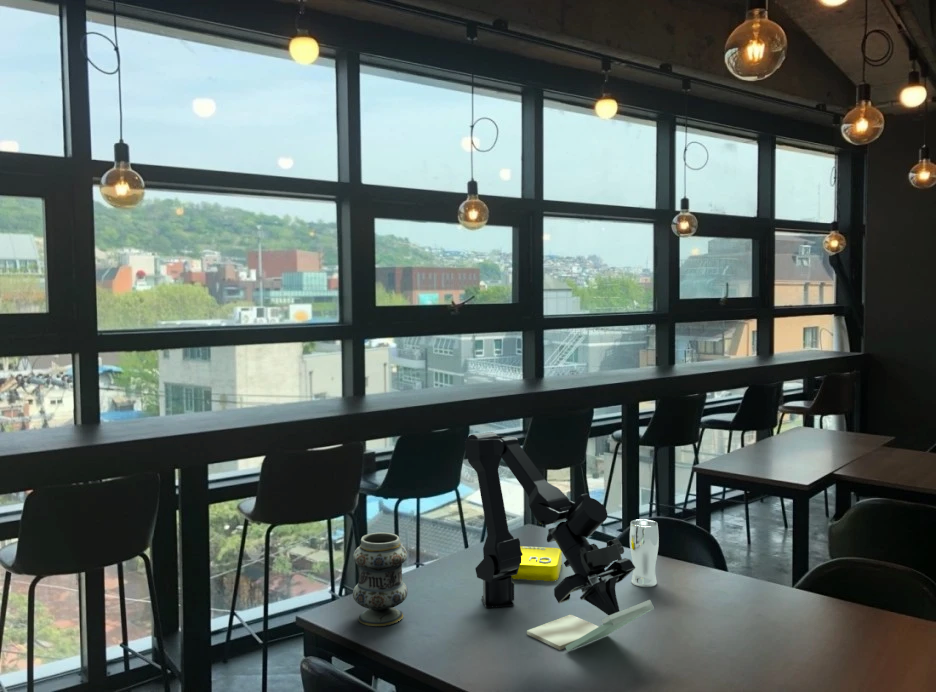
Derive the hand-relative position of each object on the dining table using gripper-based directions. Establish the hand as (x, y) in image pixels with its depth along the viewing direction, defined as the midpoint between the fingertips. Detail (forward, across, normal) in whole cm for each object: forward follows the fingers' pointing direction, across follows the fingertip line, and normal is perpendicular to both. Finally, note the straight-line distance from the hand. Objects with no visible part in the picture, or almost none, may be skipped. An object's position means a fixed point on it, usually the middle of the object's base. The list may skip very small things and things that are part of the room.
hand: (618, 618), depth 144 cm
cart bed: (-5, 0, +15) cm, 16 cm away
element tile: (-28, +21, +39) cm, 52 cm away
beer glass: (-10, +36, +21) cm, 43 cm away
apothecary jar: (-27, -25, +38) cm, 53 cm away
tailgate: (0, 0, +11) cm, 11 cm away
